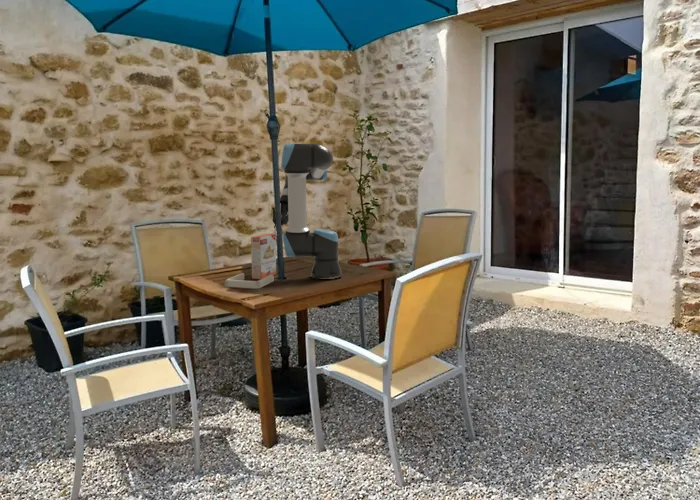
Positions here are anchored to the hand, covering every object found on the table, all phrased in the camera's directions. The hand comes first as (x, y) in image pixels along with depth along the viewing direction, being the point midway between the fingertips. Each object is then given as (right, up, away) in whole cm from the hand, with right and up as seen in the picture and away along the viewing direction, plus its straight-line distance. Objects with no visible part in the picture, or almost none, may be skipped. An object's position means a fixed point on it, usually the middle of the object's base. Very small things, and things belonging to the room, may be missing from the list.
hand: (275, 233), depth 303 cm
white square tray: (-9, -24, -28) cm, 38 cm away
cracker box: (-4, -22, -12) cm, 25 cm away
